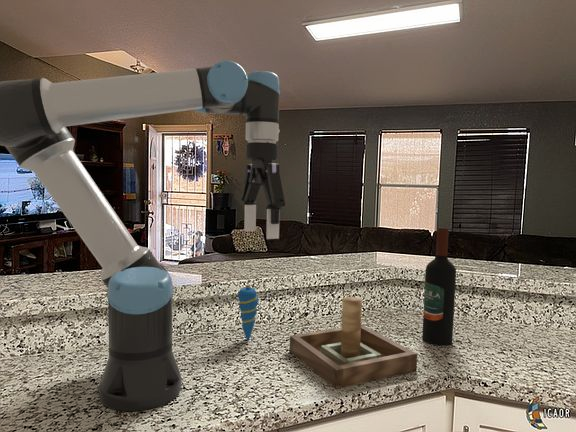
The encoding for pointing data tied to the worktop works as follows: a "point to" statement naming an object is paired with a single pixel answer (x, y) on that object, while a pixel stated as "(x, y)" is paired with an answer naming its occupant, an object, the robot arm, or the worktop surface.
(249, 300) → the ornament
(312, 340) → the box
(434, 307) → the wine bottle
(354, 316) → the peg
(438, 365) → the worktop surface
